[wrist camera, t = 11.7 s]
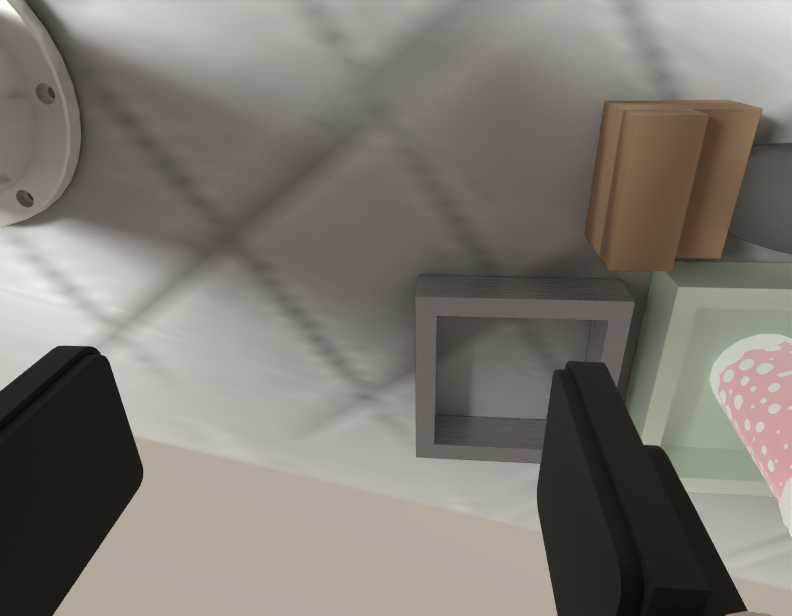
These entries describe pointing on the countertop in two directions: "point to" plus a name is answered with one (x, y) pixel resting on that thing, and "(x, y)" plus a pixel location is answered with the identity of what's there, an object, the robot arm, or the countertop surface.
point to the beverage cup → (761, 407)
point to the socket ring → (507, 300)
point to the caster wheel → (766, 198)
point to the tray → (702, 365)
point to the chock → (667, 180)
